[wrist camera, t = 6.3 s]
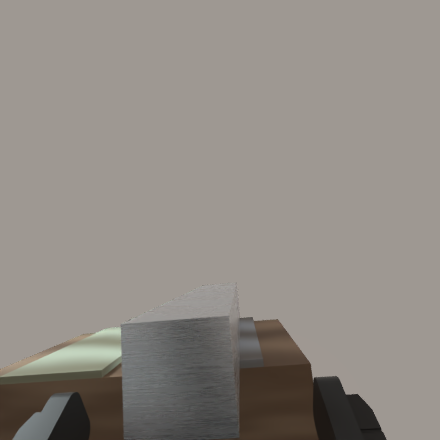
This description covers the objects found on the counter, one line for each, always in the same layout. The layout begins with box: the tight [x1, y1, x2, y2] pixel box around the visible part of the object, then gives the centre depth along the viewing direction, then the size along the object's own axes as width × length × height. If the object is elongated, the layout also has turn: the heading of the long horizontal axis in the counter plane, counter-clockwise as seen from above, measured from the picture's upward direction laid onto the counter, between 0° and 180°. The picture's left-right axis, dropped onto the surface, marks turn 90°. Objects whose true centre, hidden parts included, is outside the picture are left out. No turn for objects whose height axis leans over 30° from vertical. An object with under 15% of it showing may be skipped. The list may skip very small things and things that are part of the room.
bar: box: [121, 283, 240, 440], centre depth 20 cm, size 22×4×4 cm, turn 176°
